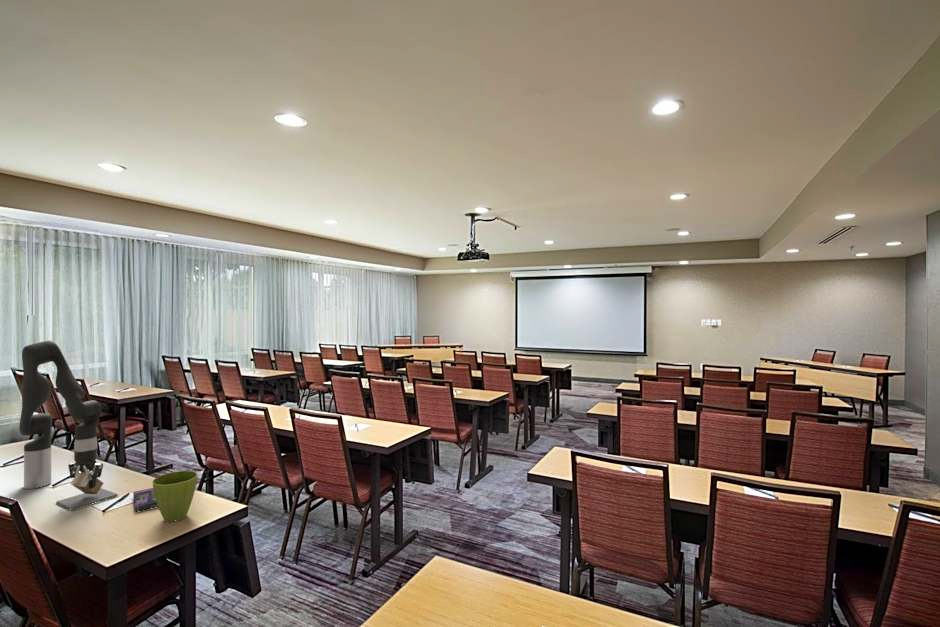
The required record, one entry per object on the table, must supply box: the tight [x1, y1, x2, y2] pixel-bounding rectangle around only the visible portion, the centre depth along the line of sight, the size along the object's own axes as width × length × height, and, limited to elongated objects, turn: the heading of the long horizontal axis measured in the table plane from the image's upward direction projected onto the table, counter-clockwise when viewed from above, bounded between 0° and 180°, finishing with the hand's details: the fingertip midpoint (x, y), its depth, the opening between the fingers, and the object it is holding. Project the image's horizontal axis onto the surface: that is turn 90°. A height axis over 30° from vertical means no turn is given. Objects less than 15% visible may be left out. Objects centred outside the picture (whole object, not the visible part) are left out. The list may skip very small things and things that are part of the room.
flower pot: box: [152, 470, 199, 522], centre depth 177 cm, size 15×15×16 cm
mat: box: [55, 487, 118, 511], centre depth 193 cm, size 14×16×1 cm
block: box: [69, 472, 104, 494], centre depth 193 cm, size 5×5×10 cm
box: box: [132, 487, 158, 513], centre depth 193 cm, size 14×4×20 cm
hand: (85, 487), depth 192 cm, fingers open, 5 cm apart
